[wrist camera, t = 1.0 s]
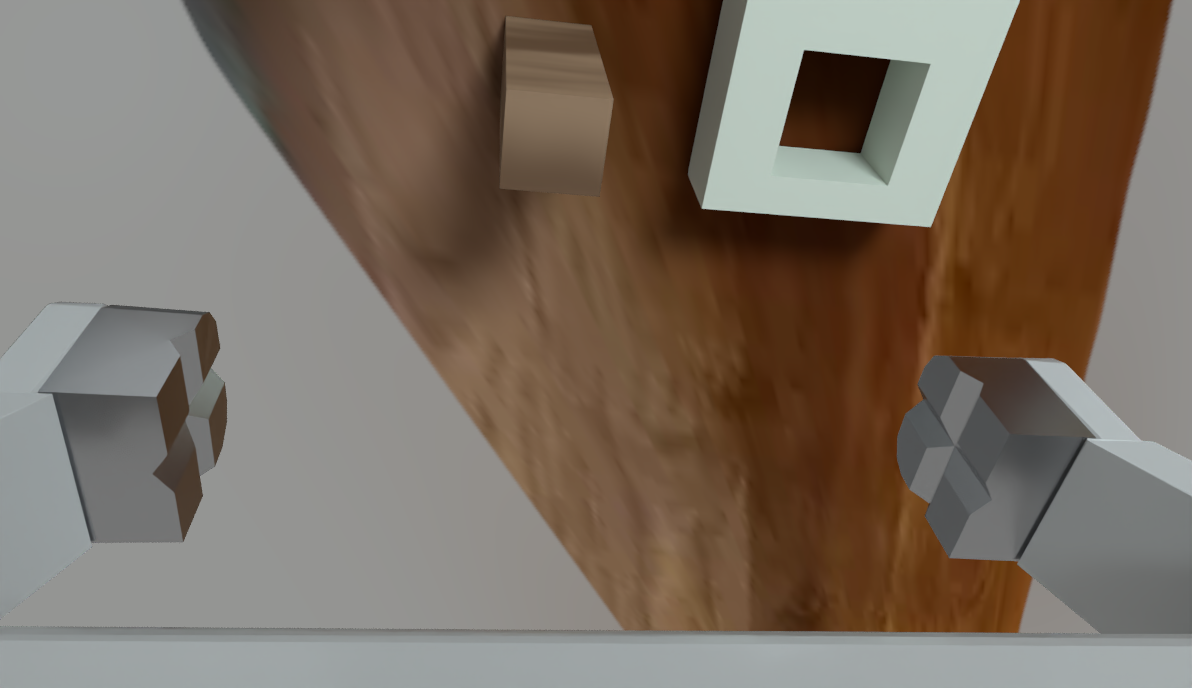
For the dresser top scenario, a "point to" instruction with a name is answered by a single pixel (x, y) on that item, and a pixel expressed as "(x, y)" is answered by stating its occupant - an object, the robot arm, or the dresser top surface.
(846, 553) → the dresser top surface
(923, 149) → the socket board
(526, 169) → the wood grain block
